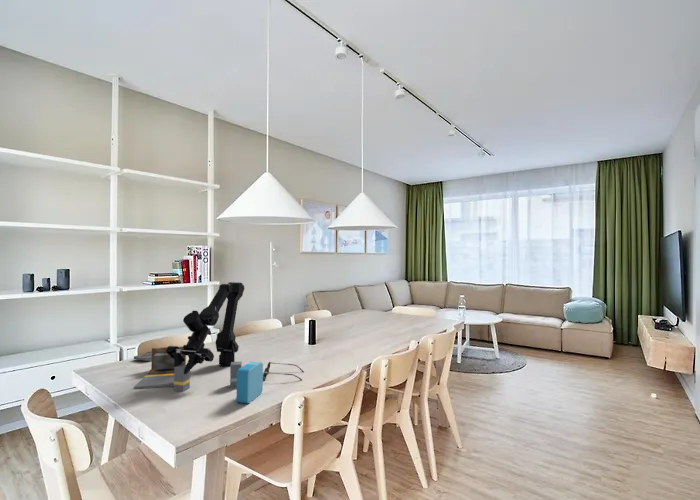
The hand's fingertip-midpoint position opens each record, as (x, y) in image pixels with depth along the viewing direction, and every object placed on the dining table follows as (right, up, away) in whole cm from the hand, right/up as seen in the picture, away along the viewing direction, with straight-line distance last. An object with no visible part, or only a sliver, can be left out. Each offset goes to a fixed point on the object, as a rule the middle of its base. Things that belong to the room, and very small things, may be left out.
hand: (179, 373), depth 142 cm
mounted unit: (-16, -7, +23) cm, 29 cm away
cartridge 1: (0, -7, +1) cm, 7 cm away
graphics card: (-34, -8, +44) cm, 56 cm away
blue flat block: (+29, -7, -6) cm, 30 cm away
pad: (-13, -7, +10) cm, 17 cm away
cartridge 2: (+20, -7, +6) cm, 22 cm away
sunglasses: (+37, -8, +18) cm, 42 cm away
